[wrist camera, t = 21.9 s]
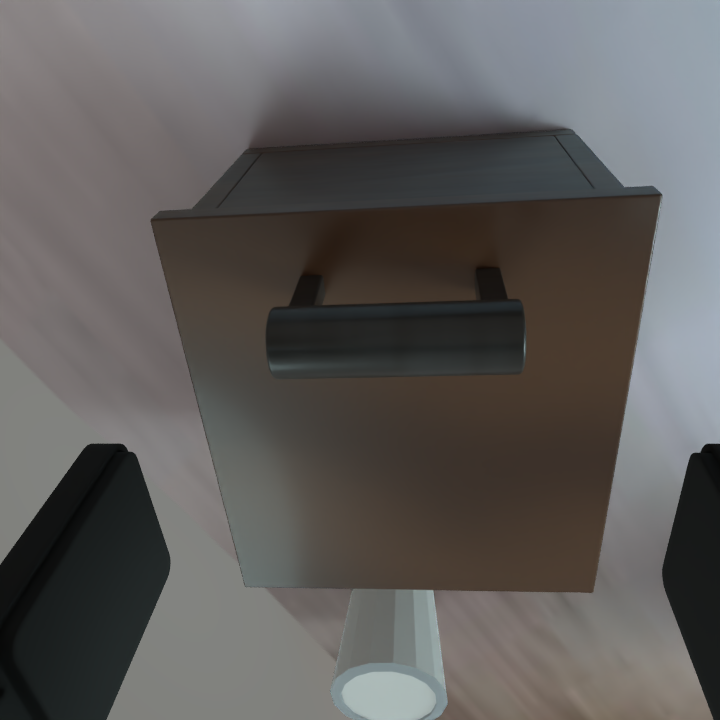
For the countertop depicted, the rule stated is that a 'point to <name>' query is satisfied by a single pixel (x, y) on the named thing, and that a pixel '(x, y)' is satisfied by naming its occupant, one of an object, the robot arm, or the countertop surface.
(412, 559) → the lid
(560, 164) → the chest
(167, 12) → the countertop surface
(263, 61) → the countertop surface
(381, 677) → the shot glass
